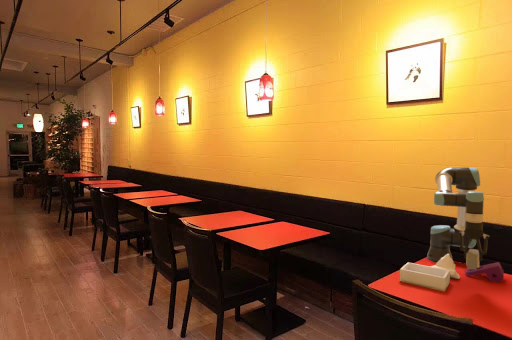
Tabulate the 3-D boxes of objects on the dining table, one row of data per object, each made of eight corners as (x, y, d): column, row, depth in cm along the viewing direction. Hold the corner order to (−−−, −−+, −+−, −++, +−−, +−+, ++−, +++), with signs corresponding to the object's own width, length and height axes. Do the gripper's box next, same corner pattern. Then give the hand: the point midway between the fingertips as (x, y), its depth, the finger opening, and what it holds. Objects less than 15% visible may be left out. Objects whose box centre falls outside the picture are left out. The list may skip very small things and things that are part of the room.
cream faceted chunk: (431, 273, 202) (434, 250, 204) (459, 280, 193) (462, 256, 195) (429, 273, 192) (432, 249, 194) (458, 281, 183) (462, 256, 185)
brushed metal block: (469, 263, 176) (469, 248, 175) (478, 264, 173) (478, 250, 173) (466, 268, 168) (467, 252, 168) (476, 270, 165) (476, 254, 165)
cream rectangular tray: (407, 273, 196) (407, 262, 196) (449, 282, 182) (450, 270, 182) (399, 281, 184) (400, 269, 183) (444, 291, 170) (444, 278, 169)
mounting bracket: (471, 287, 191) (506, 281, 181) (464, 273, 193) (498, 266, 183) (472, 282, 199) (506, 276, 188) (465, 269, 201) (499, 261, 190)
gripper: (453, 220, 172) (452, 264, 173) (493, 224, 161) (492, 271, 162) (456, 218, 178) (454, 260, 179) (494, 222, 167) (493, 267, 168)
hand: (472, 265), depth 170 cm, fingers closed on brushed metal block, 4 cm apart
